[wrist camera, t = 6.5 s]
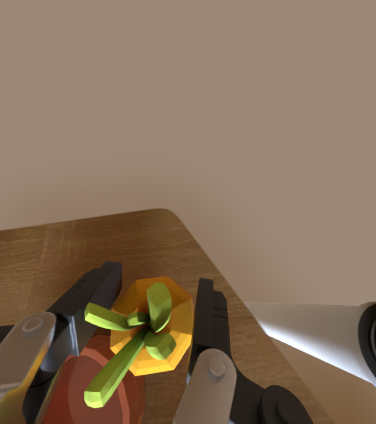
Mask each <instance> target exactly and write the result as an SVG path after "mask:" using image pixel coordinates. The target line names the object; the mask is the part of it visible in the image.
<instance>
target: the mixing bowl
mask: <svg viewBox="0 0 376 424" xmlns="http://www.w3.org/2000/svg"><path fill="white" fill-rule="evenodd" d="M110 338H111V337H110V336H106V335H96V336H92V337H91V338H90V340H89V341H88V343H87V344H86V346H85V348H84V349H83V351H82V352H81V354H80V355H79V357H78V356H74V355H70V354H69V356H68V357H67V359H66V360H65V361H64V368H63V372H62V374H61V377H60V379H59V382H58V384H57V386H56V389H55V391H54V394H53V396H52V399H51V401H50V404H49V406H48V409H47V411H46V414H45V416H44V419H43V421H42V424H141V422H142V418H143V413H144V409H145V381H144V378H143V375H139V376H135V375H134V374H133V373H132V372H131V371H130V370H129V369H128V371H127V372H126V374H125V376H124V377H123V379H122V380H121V382H120V383H119V385H118V386H117V388H116V389H115V391H114V393H113V394H112V396H111V397H110V398H109V399H108V401H107V402H106V403H105V405H104V406H103V407H98V408H93V407H90V406H87V404H86V402H85V400H84V391H85V390H86V388H87V387H88V386H89V384H90V383H91V381H92V380H93V379H94V377H95V376H96V375H97V374H98V373H99V372H100V371H101V369H102V368H103V367H104V366H105V365H106V364H107V363H108V362H109V361H110V360H111V359H112V358H113V357H114V356H115V355H116V354H115V353H114V352H113V351H112V350H111V349H110Z"/></svg>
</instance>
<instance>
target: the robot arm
mask: <svg viewBox="0 0 376 424" xmlns="http://www.w3.org/2000/svg"><path fill="white" fill-rule="evenodd" d="M121 288H122V264H121V263H119V262H114V261H109V260H108V261H106V262H105V263H104V264H103V265H102V266H101V267H100V268H94V269H92V270H91V271H89V272H87V273H85V274H84V275H83V276H82V277H81V278H80V279H79V281H77V282H76V283H75V284H74V285H73V286H72V287H71V288H70V289H69V290H68V291H67V292H66V293H65V294H63V295H62V296H61V297H60V298H59V299H58V300H57V301H56V302H55V303H54V304H53V305H52V306H51V307H50V308H49V309H48V310H47V311H46V312H39V313H35V314H32V315H30V316H28V317H26V318H24V319H22V320H21V321H20V322H18V323H17V324H16V325H9V326H0V424H42V421H43V419H44V416H45V414H46V411H47V409H48V406H49V404H50V401H51V399H52V396H53V394H54V391H55V389H56V386H57V384H58V382H59V379H60V377H61V374H62V372H63V368H64V361H65V360H66V359H67V357H68V356H69V354H70V355H74V356H78V357H79V355H80V354H81V352H82V351H83V349H84V348H85V346H86V344H87V343H88V341H89V340H90V338H91V337H92V335H93V334H94V332H95V331H96V329H97V328H98V326H97V325H94V324H92V323H90V322H88V321H86V320H85V309H86V306H87V304H88V303H89V302H90V303H93V304H96V305H99V306H101V307H103V308H106V309H108V310H110V308H111V307H112V305H113V303H114V302H115V300H116V299H117V297H118V296H119V294H120V291H121ZM368 340H369V346H370V349H371V352H372V355H373V357H374V359H375V361H376V317H375V318H374V319H373V320H372V322H371V323H370V326H369V331H368ZM186 383H188V384H187V387H186V389H185V392H184V394H183V397H182V399H181V402H180V404H179V407H178V409H177V412H176V414H175V417H174V419H173V422H172V424H313V422H312V420H311V418H310V416H309V415H308V413H307V411H306V409H305V408H304V406H303V405H302V403H301V402H300V401H299V400H298V398H297V397H296V396H295V395H294V394H292V393H291V392H290V391H289V390H287V389H285V388H283V387H281V386H277V385H272V386H269V387H267V388H266V389H264V388H262V387H260V386H259V385H257V384H255V383H254V382H252V381H251V380H249V379H248V378H246V377H245V376H244V375H243V374H242V373H241V372H240V371H239V370H238V369H237V367H236V366H235V364H234V362H233V359H232V356H231V351H230V338H229V325H228V313H227V301H226V299H225V297H224V295H223V293H222V292H219V291H214V290H213V280H210V279H205V278H200V280H199V286H198V292H197V298H196V305H195V312H194V321H193V329H192V337H191V345H190V353H189V361H188V369H187V377H186Z"/></svg>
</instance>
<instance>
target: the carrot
mask: <svg viewBox="0 0 376 424" xmlns="http://www.w3.org/2000/svg"><path fill="white" fill-rule="evenodd" d="M85 320H86V321H88V322H90V323H92V324H94V325H97V326H100V327H103V328H107V329H111V338H110V349H111V350H112V351H113V352H114V353H115V354H116V355H115V356H114V357H113V358H112V359H111V360H110V361H109V362H108V363H107V364H106V365H105V366H104V367H103V368H102V369H101V371H100V372H99V373H98V374H97V375H96V376H95V377H94V379H93V380H92V381H91V383H90V384H89V386H88V387H87V388H86V390H85V391H84V400H85V402H86V404H87V406H90V407H93V408H98V407H103V406H104V405H105V403H106V402H107V401H108V399H109V398H110V397H111V396H112V394H113V393H114V391H115V389H116V388H117V386H118V385H119V383H120V382H121V380H122V379H123V377H124V376H125V374H126V372H127V371H128V369H129V370H130V371H131V372H132V373H133V374H134V375H135V376H139V375H145V374H151V373H157V372H163V371H169V370H174V369H175V367H176V366H177V364H178V363H179V361H180V359H181V358H182V356H183V355H184V353H185V352H186V350H187V348H188V347H189V345H190V344H191V337H192V329H193V321H194V310H193V302H192V296H191V295H189V294H188V293H187V292H186V291H185V290H184V289H182V288H181V287H180V286H179V285H178V284H177V283H175V282H174V281H173V280H172V279H171V278H170V277H168V276H164V277H156V278H148V279H139V280H136V281H135V282H134V283H133V284H132V285H131V287H130V288H129V289H128V290H127V291H126V292H125V294H124V295H123V296H122V297H121V298H120V299H119V301H118V302H117V303H116V304H115V305H114V306H113V307H112V311H110V310H108V309H106V308H103V307H101V306H99V305H96V304H93V303H90V302H89V303H88V304H87V306H86V309H85Z"/></svg>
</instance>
